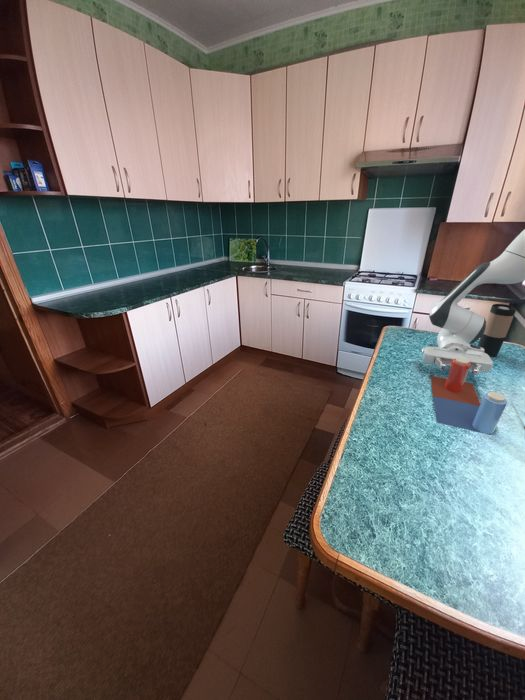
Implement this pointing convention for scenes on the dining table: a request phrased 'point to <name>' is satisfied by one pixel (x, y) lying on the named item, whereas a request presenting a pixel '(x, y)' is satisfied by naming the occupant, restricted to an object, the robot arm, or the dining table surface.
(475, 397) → the sorting mat
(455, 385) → the cylinder
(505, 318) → the travel mug
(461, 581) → the dining table surface
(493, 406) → the blue shaker
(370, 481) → the dining table surface
